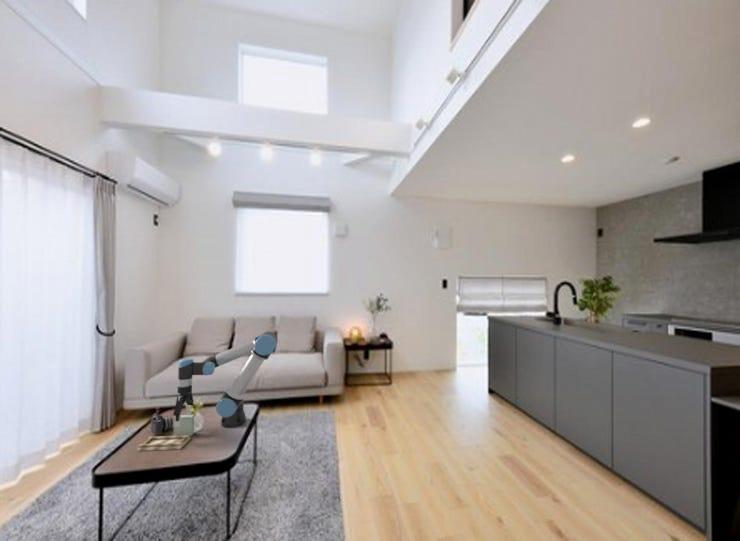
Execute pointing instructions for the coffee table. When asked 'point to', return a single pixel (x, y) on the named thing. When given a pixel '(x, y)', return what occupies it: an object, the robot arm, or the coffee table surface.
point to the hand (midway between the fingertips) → (183, 421)
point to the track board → (164, 443)
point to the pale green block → (185, 426)
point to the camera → (160, 424)
